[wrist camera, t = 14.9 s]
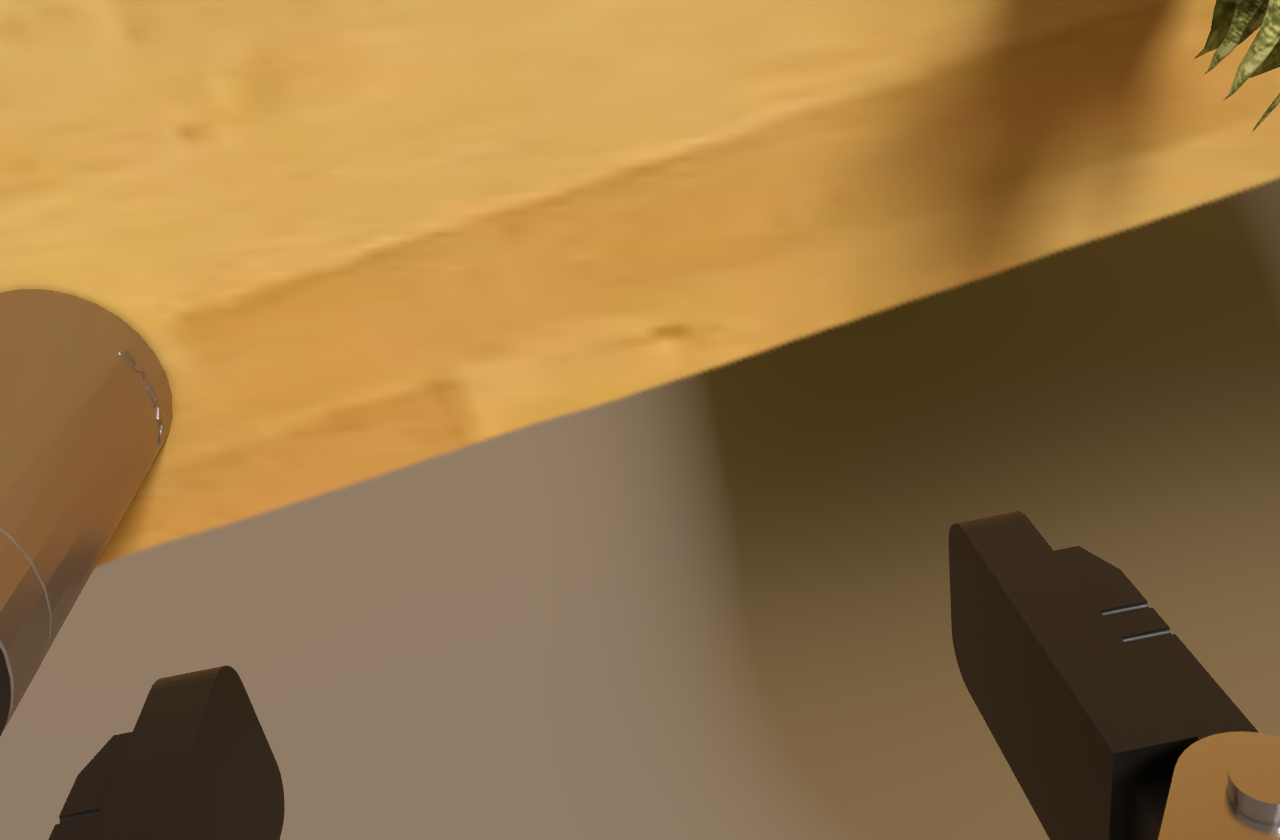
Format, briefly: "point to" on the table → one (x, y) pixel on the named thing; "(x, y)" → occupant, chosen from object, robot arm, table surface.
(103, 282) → the table surface
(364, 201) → the table surface
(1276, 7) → the house plant
